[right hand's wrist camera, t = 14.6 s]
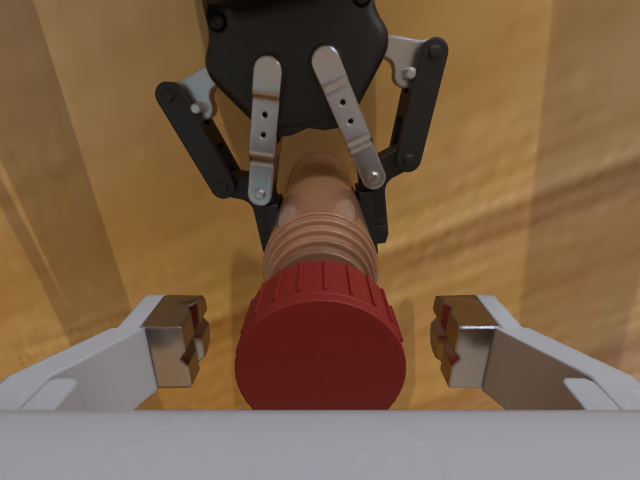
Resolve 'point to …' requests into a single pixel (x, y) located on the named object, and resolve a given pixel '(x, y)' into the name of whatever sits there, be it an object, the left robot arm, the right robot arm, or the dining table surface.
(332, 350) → the cap
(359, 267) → the bottle
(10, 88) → the dining table surface
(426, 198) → the dining table surface
